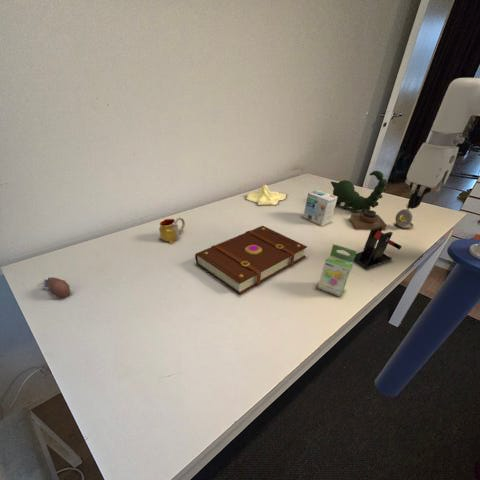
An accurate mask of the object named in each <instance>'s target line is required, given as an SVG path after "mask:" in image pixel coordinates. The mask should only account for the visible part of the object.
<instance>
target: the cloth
mask: <svg viewBox="0 0 480 480" xmlns="http://www.w3.org/2000/svg"><path fill="white" fill-rule="evenodd" d="M286 197H287V194H286V193H281V192H278V191H274V190H270V188H269V187H268V185H267V184H263V185H261V188H260V189H259V190H258V191H255V190H253V191H249V192H248V193H247V195H246V198H245V200H248V201H250V202H253V203H257V205H258V206H266V205H267V206H269V205H271V206H272V205H274V206H276V205H278V203H279V201H284V200H285V199H286Z"/></svg>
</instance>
